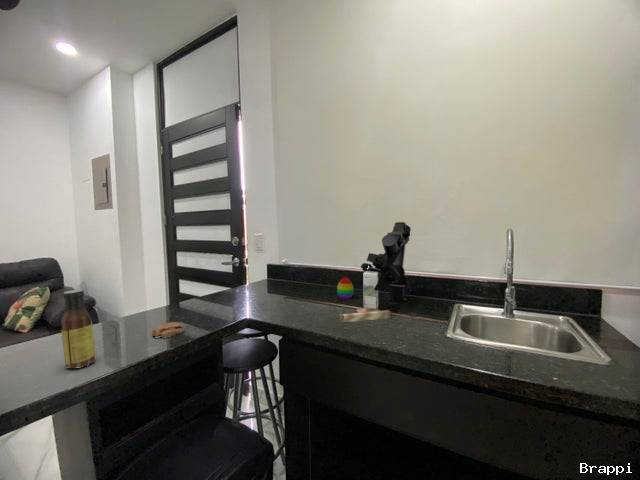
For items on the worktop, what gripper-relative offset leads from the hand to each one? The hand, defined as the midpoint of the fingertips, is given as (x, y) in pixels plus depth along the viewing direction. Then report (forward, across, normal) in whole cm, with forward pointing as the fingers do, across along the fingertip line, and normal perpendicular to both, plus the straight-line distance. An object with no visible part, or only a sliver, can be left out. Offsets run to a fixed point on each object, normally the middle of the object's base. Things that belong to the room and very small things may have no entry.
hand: (368, 288), depth 116 cm
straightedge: (+11, +5, +3) cm, 13 cm away
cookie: (+58, -19, -43) cm, 75 cm away
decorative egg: (+3, -26, +12) cm, 28 cm away
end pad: (+7, 0, +8) cm, 11 cm away
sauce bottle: (+72, -6, -59) cm, 93 cm away
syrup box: (+5, 0, +7) cm, 8 cm away
